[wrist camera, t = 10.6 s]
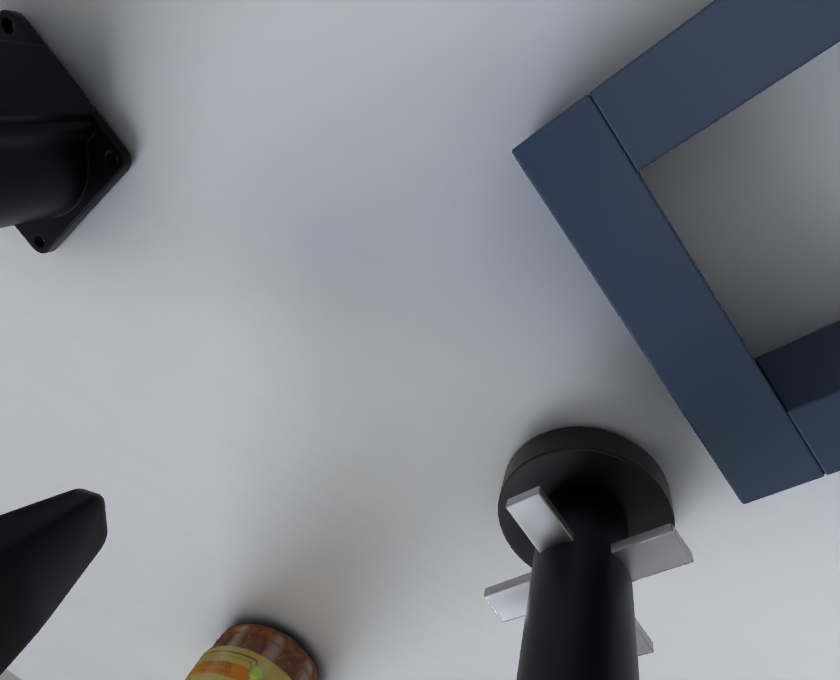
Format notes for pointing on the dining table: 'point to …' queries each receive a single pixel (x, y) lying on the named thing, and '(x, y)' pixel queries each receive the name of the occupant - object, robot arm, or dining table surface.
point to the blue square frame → (666, 255)
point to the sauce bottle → (254, 657)
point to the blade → (583, 551)
